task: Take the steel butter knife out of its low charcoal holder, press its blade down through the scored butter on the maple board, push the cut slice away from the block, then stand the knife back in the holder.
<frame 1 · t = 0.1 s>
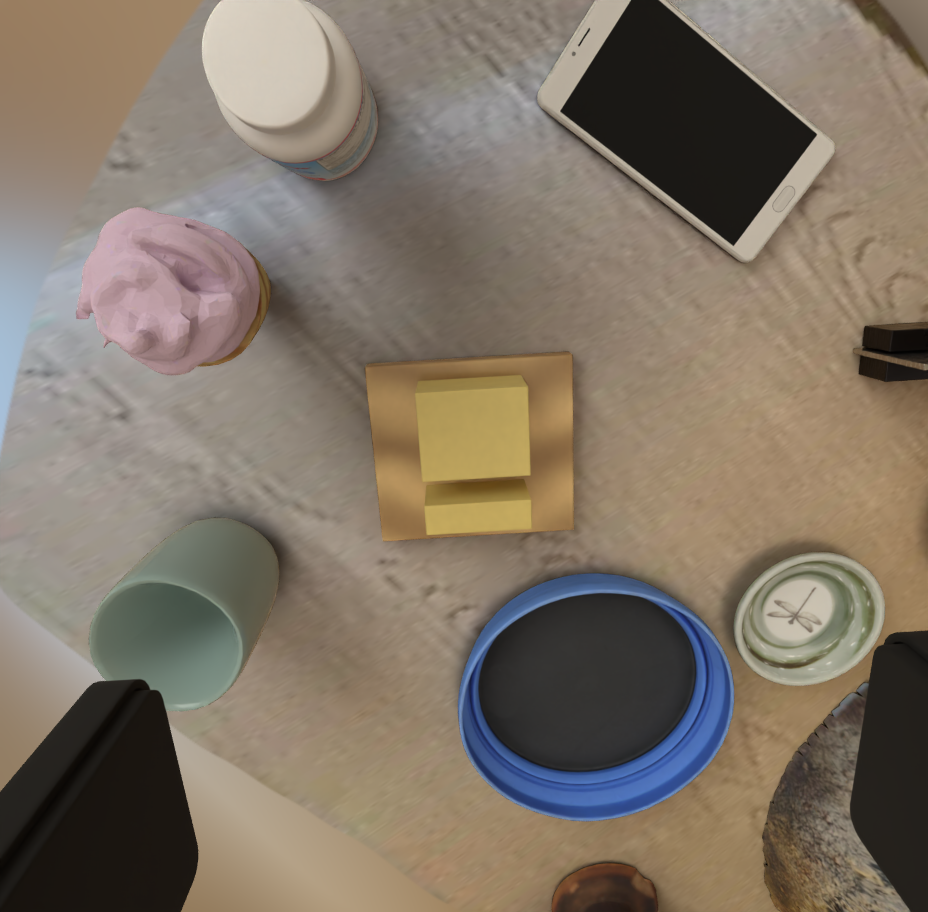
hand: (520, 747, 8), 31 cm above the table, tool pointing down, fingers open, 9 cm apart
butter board: (473, 446, 39), on the table
knife holder: (927, 346, 38), on the table
vase: (601, 898, 51), on the table
bowl: (585, 677, 45), on the table
knife: (927, 346, 38), on the table
saucer: (790, 602, 43), on the table
ice cream cone: (253, 282, 36), on the table
cup: (232, 556, 41), on the table
smartphone: (684, 125, 34), on the table
pill bottle: (323, 121, 34), on the table
butter block: (471, 419, 38), point 1 cm above the table, touching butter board
butter slice: (476, 495, 39), point 1 cm above the table, touching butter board
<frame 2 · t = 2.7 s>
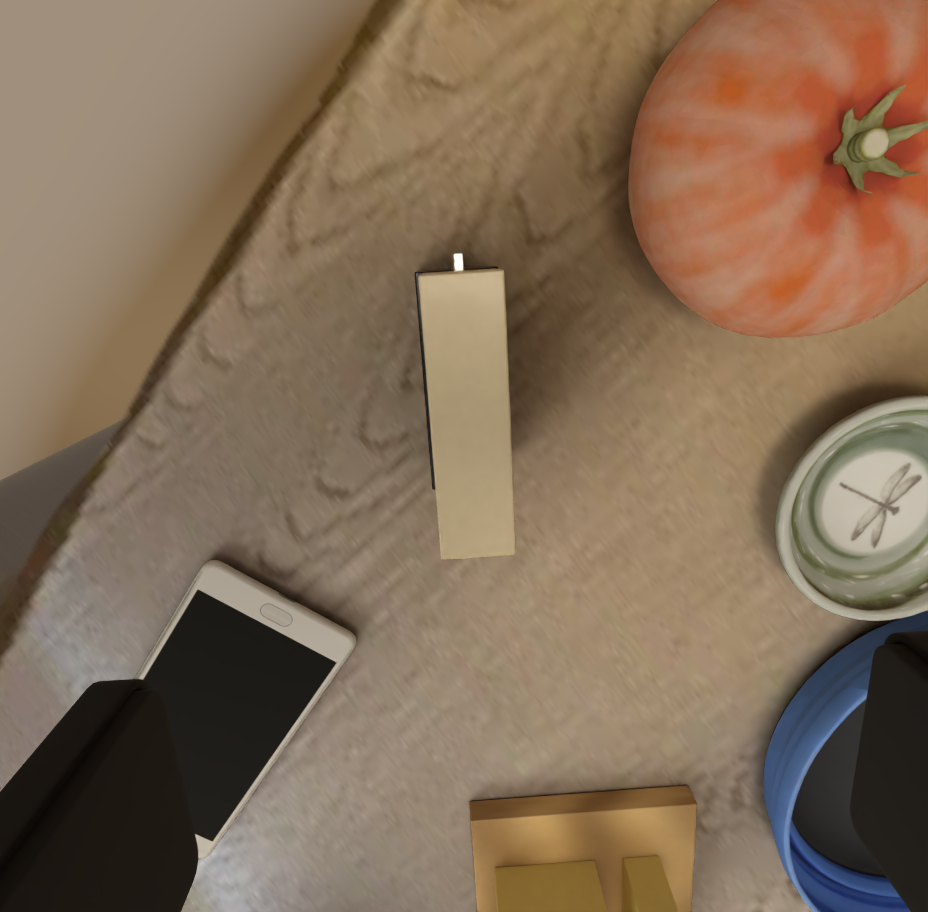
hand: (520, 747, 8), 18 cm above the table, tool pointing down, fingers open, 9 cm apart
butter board: (580, 883, 34), on the table
knife holder: (462, 372, 25), on the table
bowl: (926, 748, 32), on the table
knife: (462, 372, 25), on the table
tomato: (744, 179, 24), on the table
saucer: (860, 493, 28), on the table
smartphone: (211, 711, 30), on the table
butter block: (545, 908, 32), point 1 cm above the table, touching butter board
butter slice: (639, 901, 33), point 1 cm above the table, touching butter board
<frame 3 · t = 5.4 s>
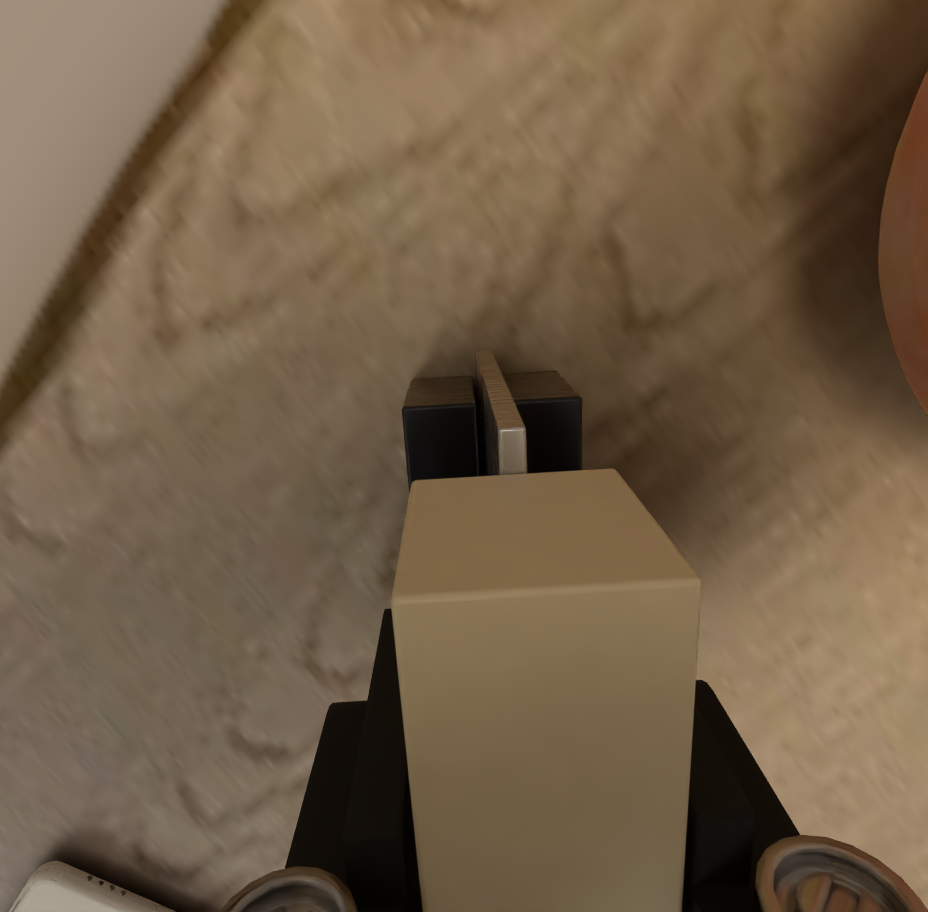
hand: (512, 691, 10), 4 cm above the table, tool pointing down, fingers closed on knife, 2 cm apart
knife holder: (492, 558, 14), on the table
knife: (493, 558, 14), on the table, touching gripper
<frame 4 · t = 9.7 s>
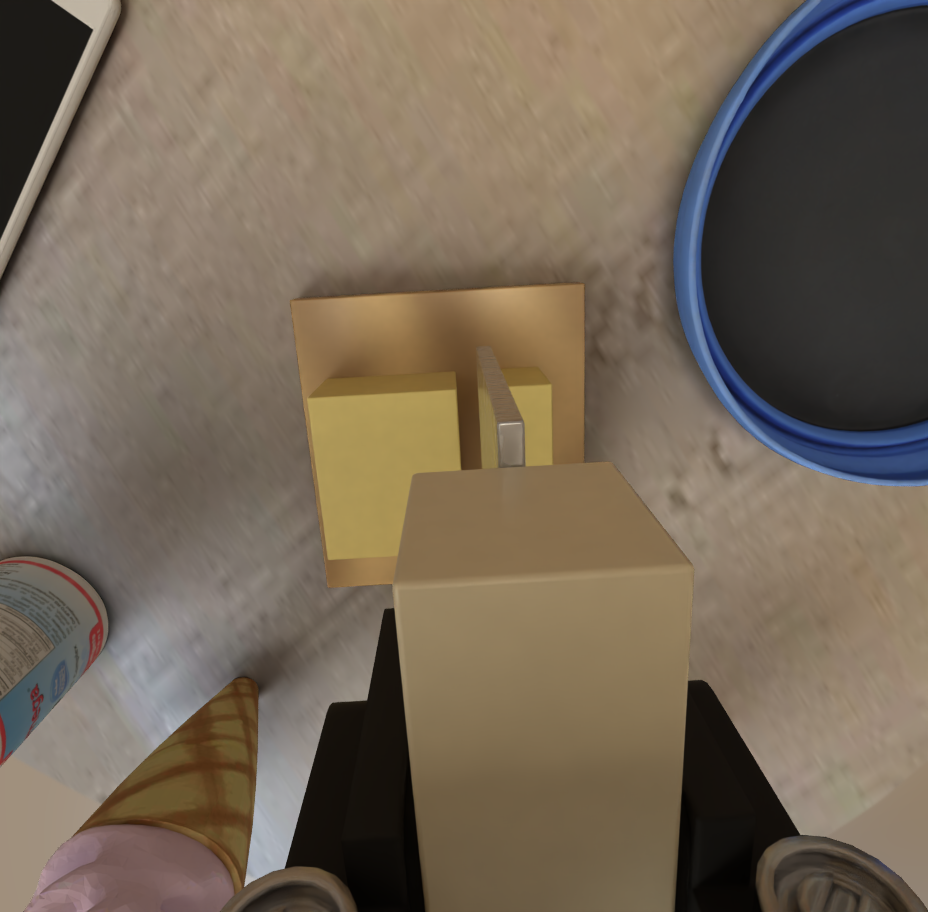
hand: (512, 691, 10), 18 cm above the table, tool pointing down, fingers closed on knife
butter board: (447, 438, 27), on the table
bowl: (885, 237, 25), on the table
knife: (493, 553, 14), point 13 cm above the table, touching gripper
ice cream cone: (242, 692, 30), on the table
pill bottle: (47, 610, 29), on the table
butter block: (397, 449, 25), point 1 cm above the table, touching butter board
butter slice: (517, 442, 25), point 1 cm above the table, touching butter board
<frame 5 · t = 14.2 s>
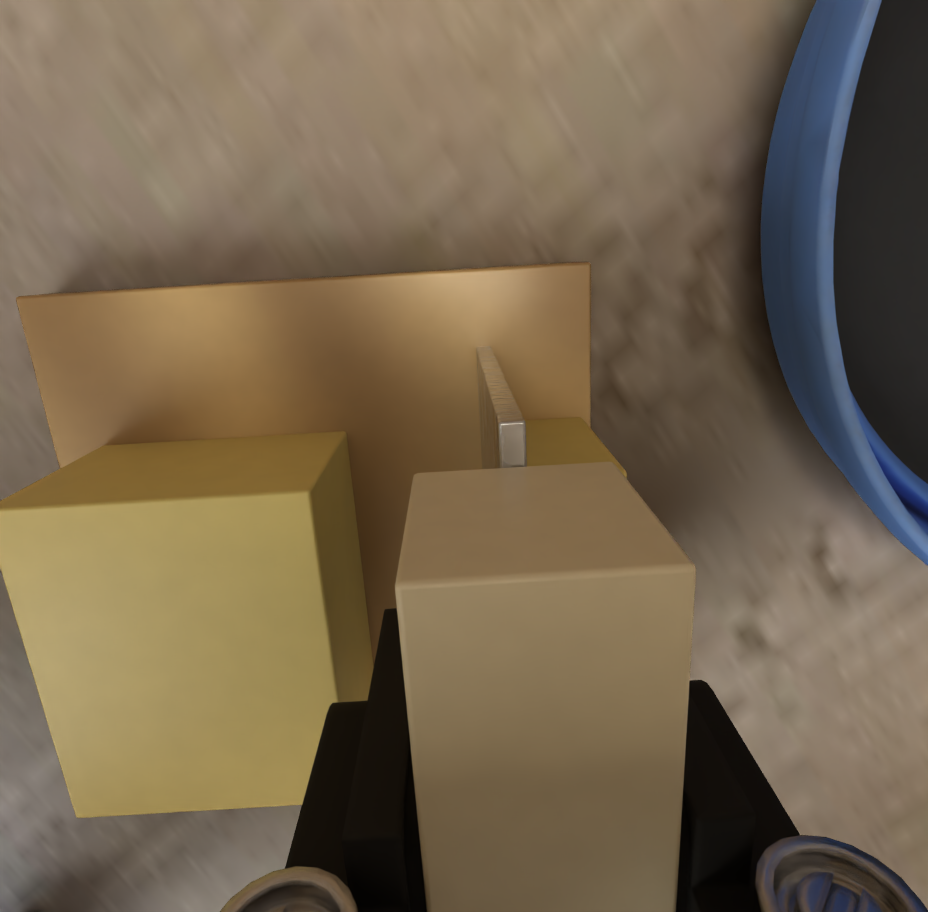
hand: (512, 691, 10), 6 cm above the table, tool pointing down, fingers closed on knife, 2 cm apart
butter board: (347, 541, 15), on the table
knife: (493, 553, 14), point 1 cm above the table, touching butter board, butter slice, gripper
butter block: (247, 569, 14), point 1 cm above the table, touching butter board
butter slice: (541, 552, 14), point 1 cm above the table, touching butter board, knife
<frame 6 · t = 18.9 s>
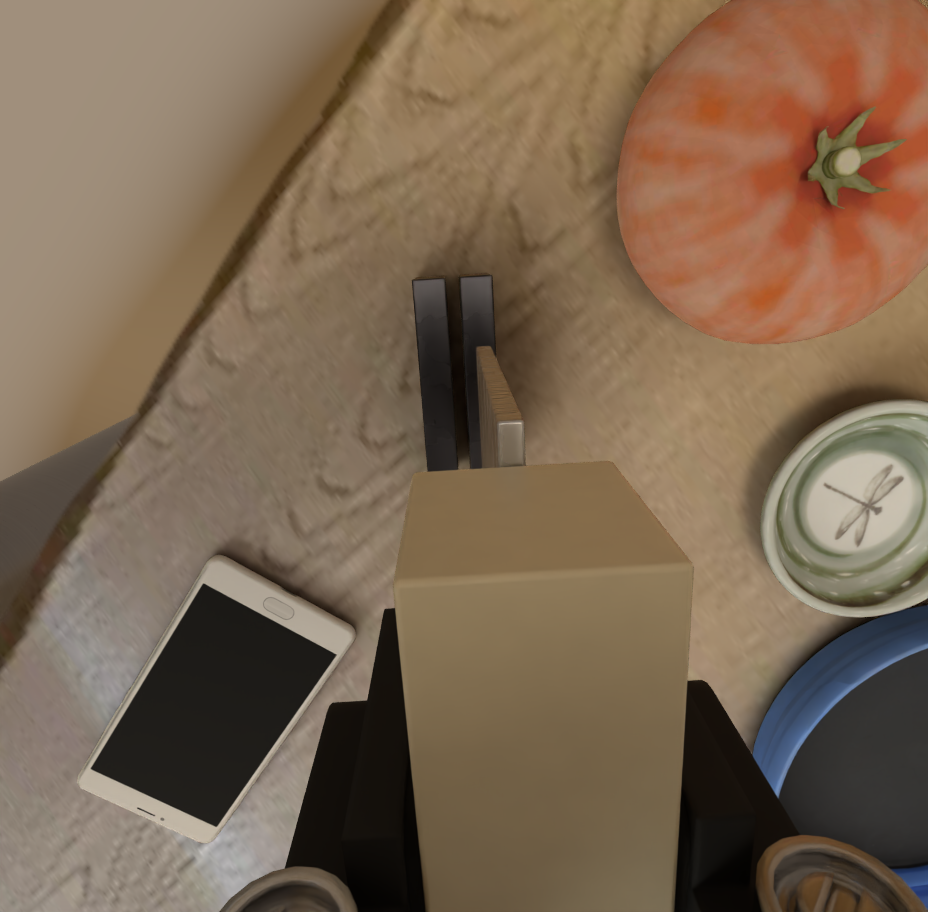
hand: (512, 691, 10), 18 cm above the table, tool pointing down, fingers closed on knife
knife holder: (458, 375, 26), on the table
bowl: (910, 742, 33), on the table
knife: (493, 553, 14), point 14 cm above the table, touching gripper
tomato: (730, 190, 25), on the table
saucer: (845, 493, 29), on the table
smartphone: (216, 701, 31), on the table
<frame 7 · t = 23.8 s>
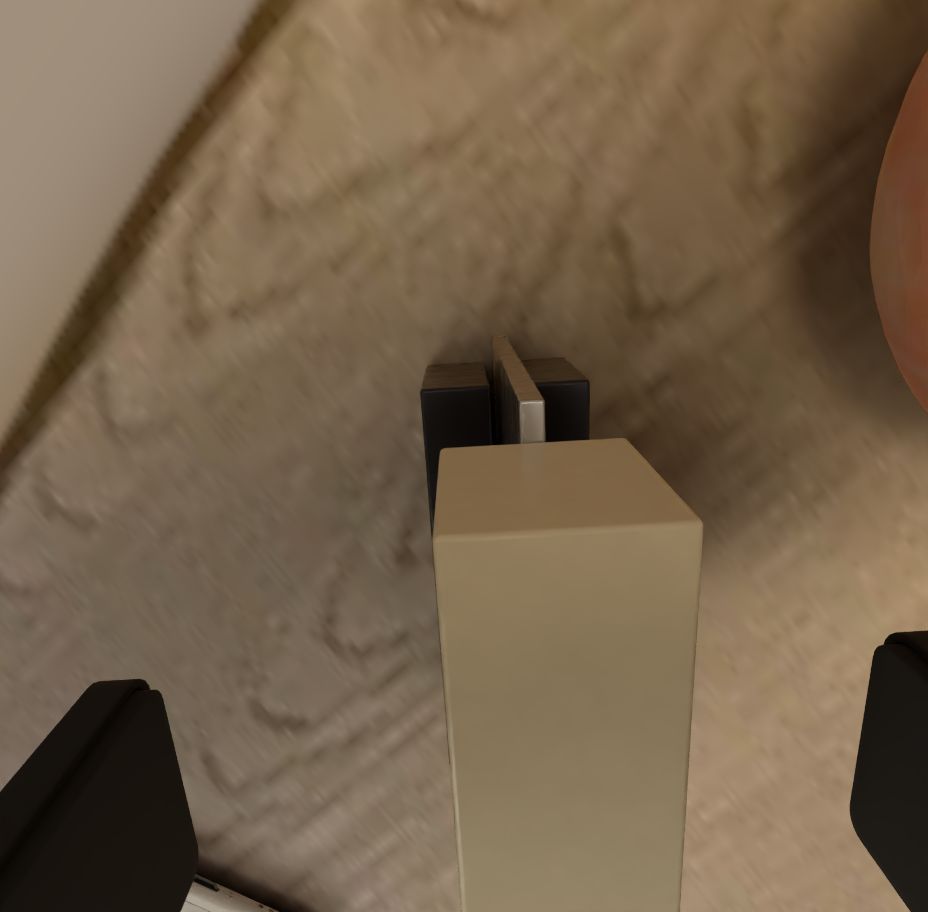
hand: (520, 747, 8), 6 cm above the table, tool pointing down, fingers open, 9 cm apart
knife holder: (503, 537, 14), on the table
knife: (506, 536, 14), on the table
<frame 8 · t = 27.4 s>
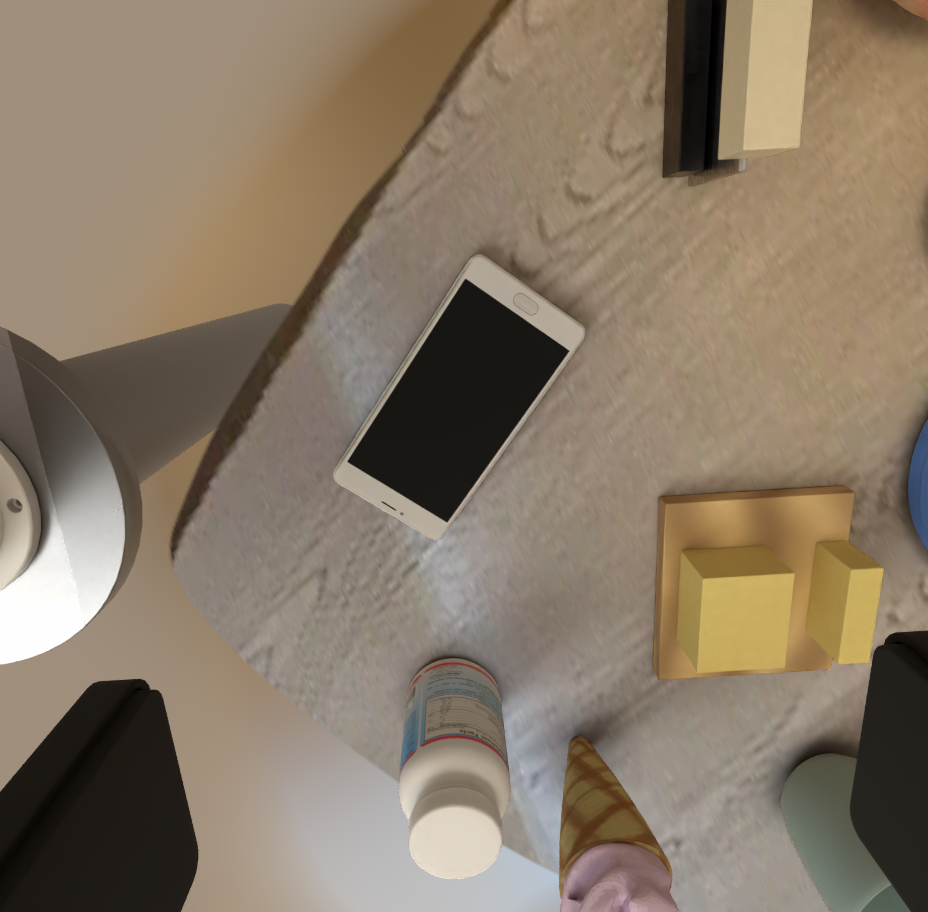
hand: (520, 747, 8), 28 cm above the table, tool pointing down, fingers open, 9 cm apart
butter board: (743, 581, 40), on the table
knife holder: (694, 88, 31), on the table
knife: (696, 88, 31), on the table
ice cream cone: (575, 746, 43), on the table
cup: (818, 778, 45), on the table
smartphone: (455, 404, 36), on the table
pill bottle: (454, 691, 42), on the table
butter block: (719, 592, 39), point 1 cm above the table, touching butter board
butter slice: (825, 586, 39), point 1 cm above the table, touching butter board
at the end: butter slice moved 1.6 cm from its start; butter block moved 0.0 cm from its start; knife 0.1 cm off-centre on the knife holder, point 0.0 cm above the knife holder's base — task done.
